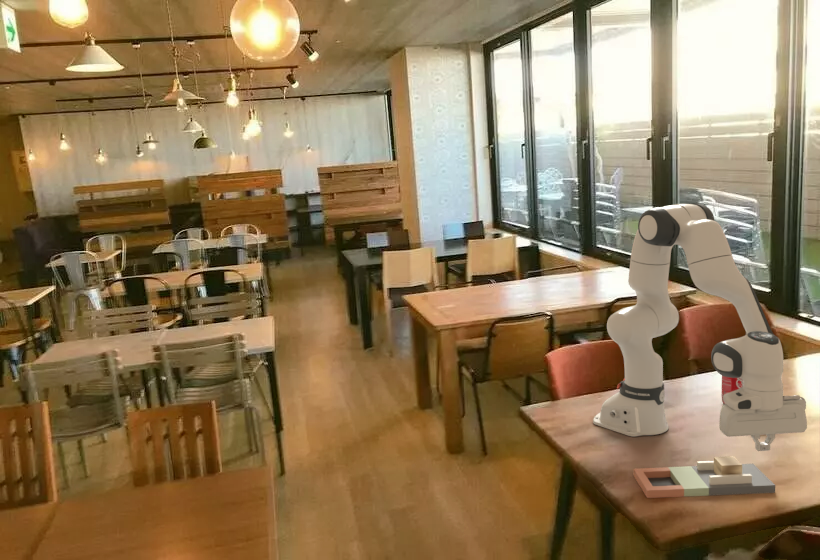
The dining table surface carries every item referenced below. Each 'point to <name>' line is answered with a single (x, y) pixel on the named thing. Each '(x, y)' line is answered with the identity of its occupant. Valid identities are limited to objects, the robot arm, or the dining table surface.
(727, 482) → the channel walls
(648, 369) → the robot arm
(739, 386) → the soda can
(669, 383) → the dining table surface
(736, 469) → the birch block
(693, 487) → the pad
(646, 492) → the board
